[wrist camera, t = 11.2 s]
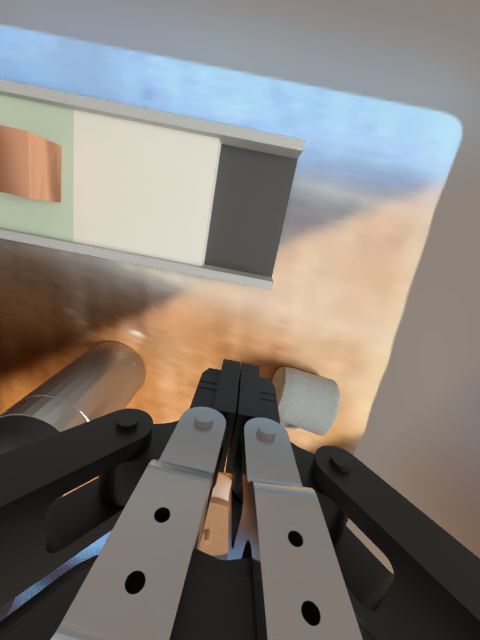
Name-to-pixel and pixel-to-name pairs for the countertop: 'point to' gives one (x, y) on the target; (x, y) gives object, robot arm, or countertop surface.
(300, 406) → the ceramic mug
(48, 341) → the countertop surface
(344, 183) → the countertop surface
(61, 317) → the countertop surface
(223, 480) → the lidded jar
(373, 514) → the robot arm
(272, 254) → the trap channel
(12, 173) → the block
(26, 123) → the pad
